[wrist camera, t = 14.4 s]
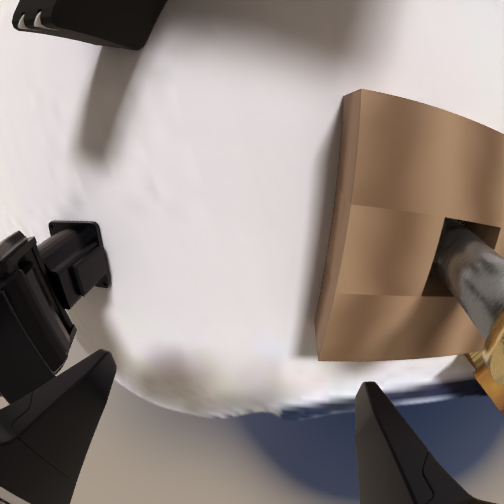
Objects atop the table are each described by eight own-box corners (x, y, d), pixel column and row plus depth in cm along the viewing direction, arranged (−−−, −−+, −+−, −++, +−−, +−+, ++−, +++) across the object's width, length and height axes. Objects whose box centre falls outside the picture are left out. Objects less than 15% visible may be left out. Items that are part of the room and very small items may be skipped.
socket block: (314, 322, 23) (318, 360, 19) (343, 96, 15) (361, 88, 11) (472, 321, 22) (490, 349, 18) (522, 152, 14) (555, 163, 10)
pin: (417, 274, 20) (489, 398, 9) (399, 221, 19) (499, 342, 7) (464, 246, 19) (554, 347, 7) (451, 192, 17) (571, 279, 5)
